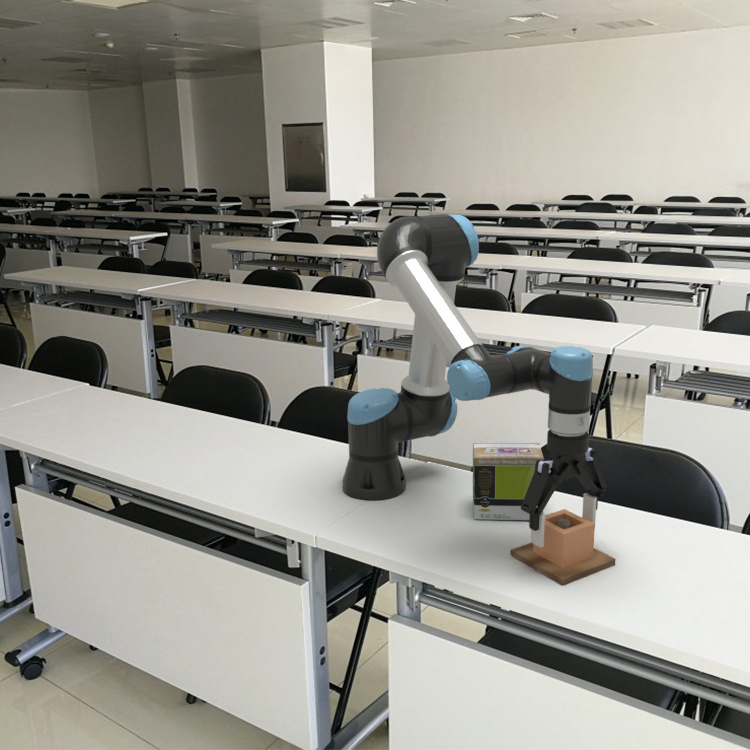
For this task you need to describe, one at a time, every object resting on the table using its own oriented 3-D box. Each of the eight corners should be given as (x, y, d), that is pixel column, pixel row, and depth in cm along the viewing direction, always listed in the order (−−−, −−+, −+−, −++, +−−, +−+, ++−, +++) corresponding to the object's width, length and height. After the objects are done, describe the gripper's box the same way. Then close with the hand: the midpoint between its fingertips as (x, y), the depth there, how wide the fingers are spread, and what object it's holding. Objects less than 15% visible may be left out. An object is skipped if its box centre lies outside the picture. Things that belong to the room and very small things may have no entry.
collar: (533, 551, 156) (534, 518, 154) (562, 541, 160) (564, 509, 158) (562, 568, 149) (564, 534, 147) (592, 557, 153) (594, 523, 151)
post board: (510, 555, 157) (511, 517, 155) (562, 537, 164) (563, 500, 162) (562, 585, 145) (564, 544, 143) (615, 564, 153) (617, 525, 151)
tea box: (538, 503, 181) (541, 441, 177) (543, 522, 171) (545, 457, 167) (471, 501, 182) (472, 440, 179) (472, 520, 173) (473, 456, 169)
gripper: (532, 449, 139) (528, 560, 144) (630, 423, 151) (623, 526, 157) (503, 437, 145) (500, 544, 150) (599, 413, 158) (594, 512, 163)
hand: (563, 535), depth 153 cm, fingers open, 13 cm apart
